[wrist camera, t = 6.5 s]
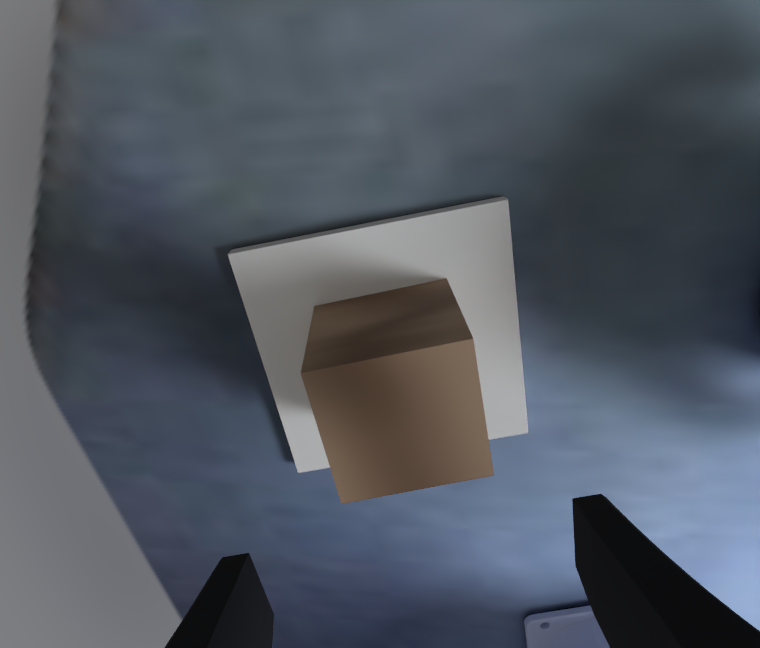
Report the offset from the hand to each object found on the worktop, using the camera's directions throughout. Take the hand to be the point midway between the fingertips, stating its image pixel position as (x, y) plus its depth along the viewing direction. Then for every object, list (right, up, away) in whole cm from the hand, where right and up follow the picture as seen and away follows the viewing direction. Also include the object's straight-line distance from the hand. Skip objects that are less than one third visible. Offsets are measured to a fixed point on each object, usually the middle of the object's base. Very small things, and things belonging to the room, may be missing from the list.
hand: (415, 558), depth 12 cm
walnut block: (0, +4, +9) cm, 10 cm away
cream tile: (0, +4, +9) cm, 10 cm away
